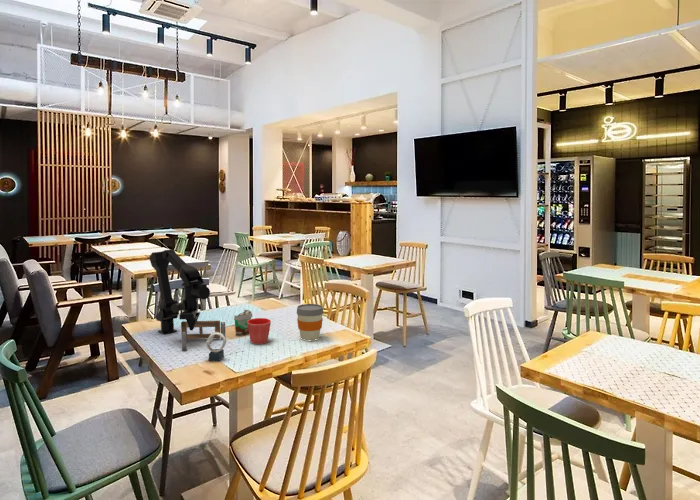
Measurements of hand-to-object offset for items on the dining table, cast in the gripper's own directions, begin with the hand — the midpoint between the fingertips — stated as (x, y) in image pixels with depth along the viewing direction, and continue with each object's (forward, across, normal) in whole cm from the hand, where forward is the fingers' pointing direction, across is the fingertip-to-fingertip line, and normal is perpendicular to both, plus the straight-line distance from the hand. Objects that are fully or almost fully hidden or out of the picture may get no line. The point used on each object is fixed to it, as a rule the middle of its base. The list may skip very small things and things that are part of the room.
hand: (192, 329), depth 212 cm
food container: (+5, -10, +23) cm, 26 cm away
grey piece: (+5, +7, +7) cm, 11 cm away
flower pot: (+5, +4, +31) cm, 32 cm away
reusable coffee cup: (+5, 0, +54) cm, 55 cm away
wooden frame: (+4, 0, +4) cm, 6 cm away
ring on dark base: (+6, +25, +16) cm, 30 cm away
